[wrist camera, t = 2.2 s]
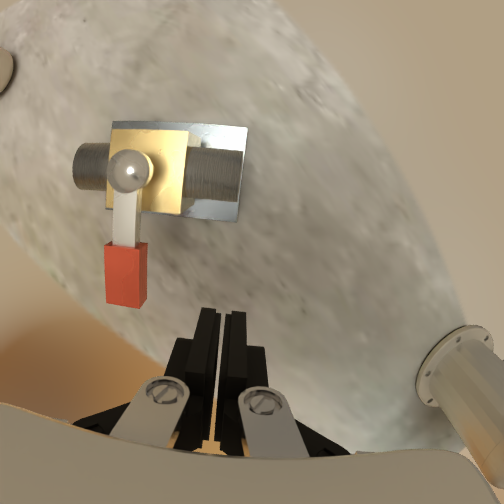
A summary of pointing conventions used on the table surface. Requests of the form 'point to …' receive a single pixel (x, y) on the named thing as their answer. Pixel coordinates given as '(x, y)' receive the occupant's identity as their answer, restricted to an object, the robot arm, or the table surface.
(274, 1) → the table surface
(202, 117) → the table surface
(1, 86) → the plastic bottle
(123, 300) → the lever
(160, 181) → the valve
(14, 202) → the table surface
